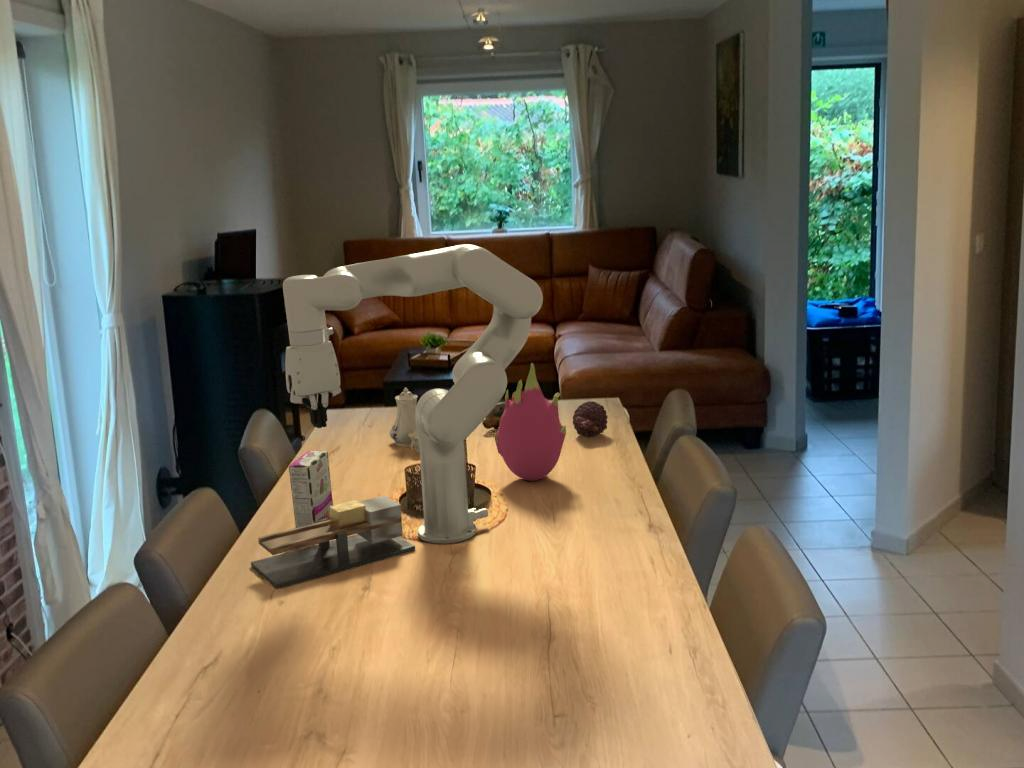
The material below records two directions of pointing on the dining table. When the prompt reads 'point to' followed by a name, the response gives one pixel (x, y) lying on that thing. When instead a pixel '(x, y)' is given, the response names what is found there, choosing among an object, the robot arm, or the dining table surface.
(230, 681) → the dining table surface
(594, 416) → the pine cone
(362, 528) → the beam
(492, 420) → the decorative turtle
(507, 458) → the pink dragon fruit
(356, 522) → the brass block
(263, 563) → the stand
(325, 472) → the candy bar box
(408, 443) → the chinaware
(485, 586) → the dining table surface
